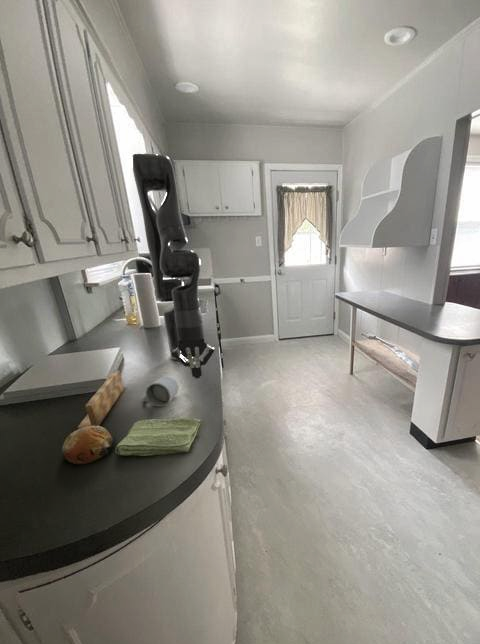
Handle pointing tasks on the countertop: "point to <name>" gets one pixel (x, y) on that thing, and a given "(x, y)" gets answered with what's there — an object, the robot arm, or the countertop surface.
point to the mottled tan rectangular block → (103, 400)
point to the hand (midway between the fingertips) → (197, 377)
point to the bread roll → (87, 444)
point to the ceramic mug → (161, 391)
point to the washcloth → (159, 437)
